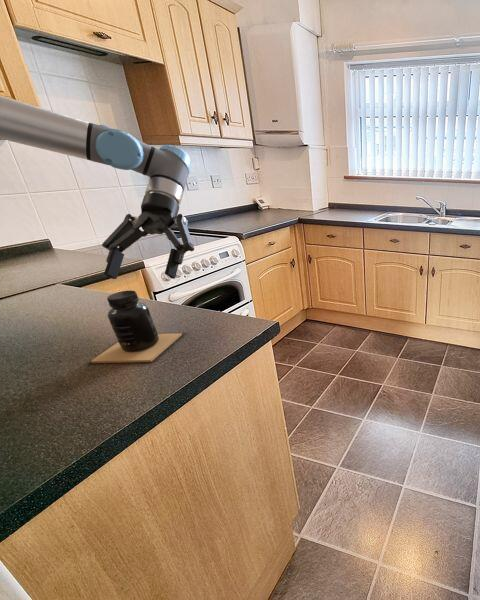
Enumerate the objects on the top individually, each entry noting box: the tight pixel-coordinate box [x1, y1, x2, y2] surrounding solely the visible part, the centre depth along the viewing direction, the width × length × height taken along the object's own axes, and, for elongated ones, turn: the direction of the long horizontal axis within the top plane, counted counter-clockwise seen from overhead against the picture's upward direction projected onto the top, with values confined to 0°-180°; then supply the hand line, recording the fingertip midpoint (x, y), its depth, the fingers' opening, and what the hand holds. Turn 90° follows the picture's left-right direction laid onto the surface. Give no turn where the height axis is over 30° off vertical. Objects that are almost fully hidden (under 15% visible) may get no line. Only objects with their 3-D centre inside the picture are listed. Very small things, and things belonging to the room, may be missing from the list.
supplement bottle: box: [106, 289, 159, 352], centre depth 71 cm, size 7×7×12 cm
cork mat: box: [90, 332, 183, 364], centre depth 73 cm, size 12×11×1 cm
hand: (140, 276), depth 78 cm, fingers open, 13 cm apart
